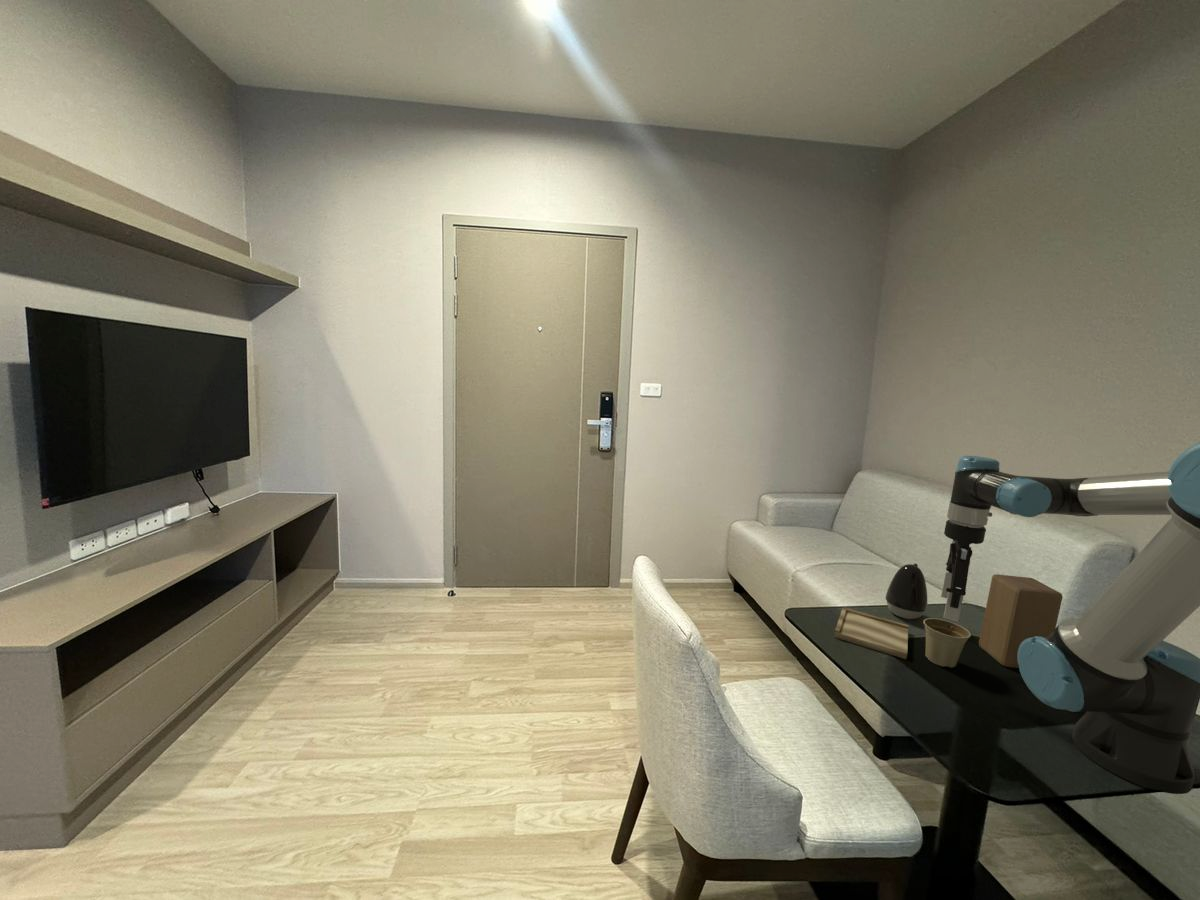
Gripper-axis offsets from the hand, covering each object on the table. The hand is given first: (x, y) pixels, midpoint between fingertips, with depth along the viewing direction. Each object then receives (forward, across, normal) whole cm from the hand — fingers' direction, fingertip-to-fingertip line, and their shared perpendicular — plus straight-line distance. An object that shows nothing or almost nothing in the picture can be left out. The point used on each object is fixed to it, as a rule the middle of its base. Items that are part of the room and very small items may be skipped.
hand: (949, 608), depth 119 cm
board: (+13, +3, +15) cm, 20 cm away
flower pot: (+14, 0, 0) cm, 14 cm away
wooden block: (+14, +13, -15) cm, 24 cm away
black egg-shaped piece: (+14, +22, +8) cm, 27 cm away
